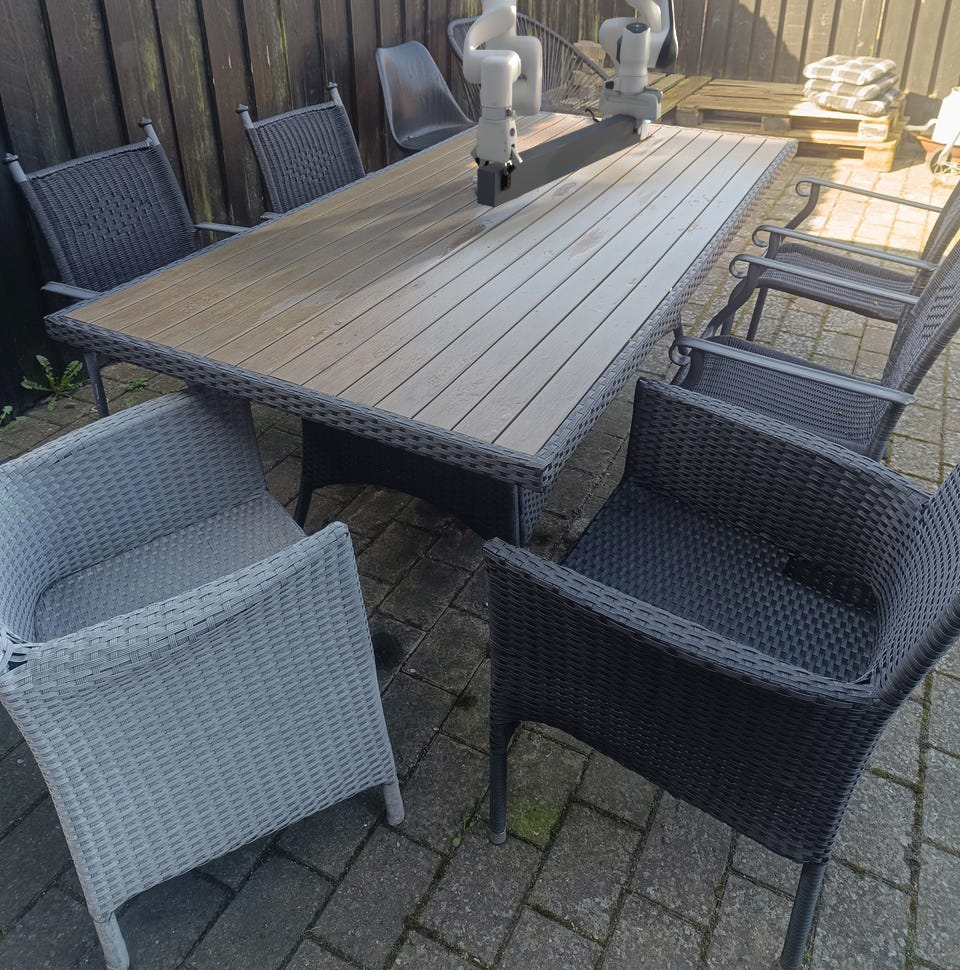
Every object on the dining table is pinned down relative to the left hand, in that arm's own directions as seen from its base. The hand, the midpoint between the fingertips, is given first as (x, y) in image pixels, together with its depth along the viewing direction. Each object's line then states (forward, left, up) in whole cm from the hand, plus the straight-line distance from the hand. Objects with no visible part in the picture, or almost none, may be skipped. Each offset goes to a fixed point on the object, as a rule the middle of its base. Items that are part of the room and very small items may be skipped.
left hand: (495, 186), depth 217 cm
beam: (+4, +36, -4) cm, 36 cm away
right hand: (+8, +72, 0) cm, 73 cm away
